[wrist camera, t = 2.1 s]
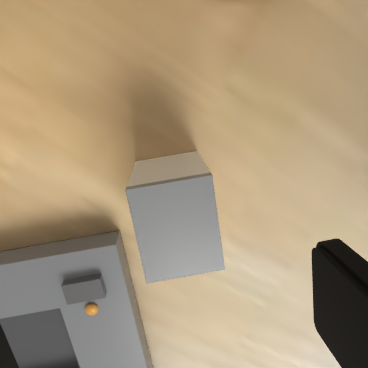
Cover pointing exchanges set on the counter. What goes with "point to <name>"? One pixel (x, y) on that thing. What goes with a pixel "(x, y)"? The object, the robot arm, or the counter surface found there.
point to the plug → (175, 217)
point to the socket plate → (72, 305)
